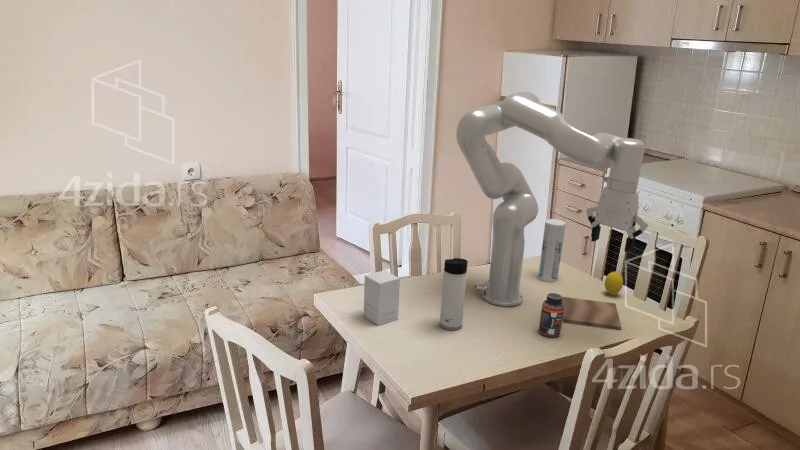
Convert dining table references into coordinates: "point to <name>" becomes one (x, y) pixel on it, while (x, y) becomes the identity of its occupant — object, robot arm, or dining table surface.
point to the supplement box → (381, 297)
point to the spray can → (551, 250)
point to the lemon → (613, 282)
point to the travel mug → (453, 293)
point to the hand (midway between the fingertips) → (611, 245)
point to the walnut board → (591, 313)
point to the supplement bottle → (551, 315)
